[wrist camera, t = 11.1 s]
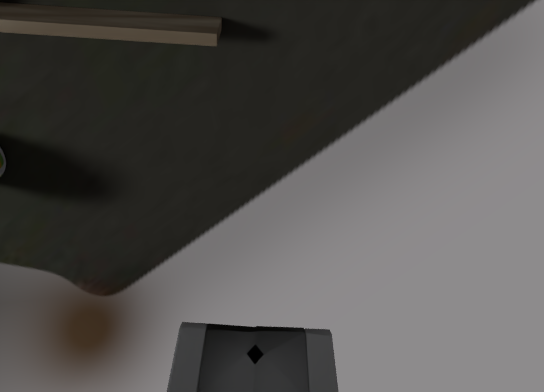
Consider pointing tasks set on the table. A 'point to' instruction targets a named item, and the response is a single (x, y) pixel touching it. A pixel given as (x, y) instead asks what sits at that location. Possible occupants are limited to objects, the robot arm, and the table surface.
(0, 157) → the supplement bottle
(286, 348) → the robot arm
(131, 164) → the table surface
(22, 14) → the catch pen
